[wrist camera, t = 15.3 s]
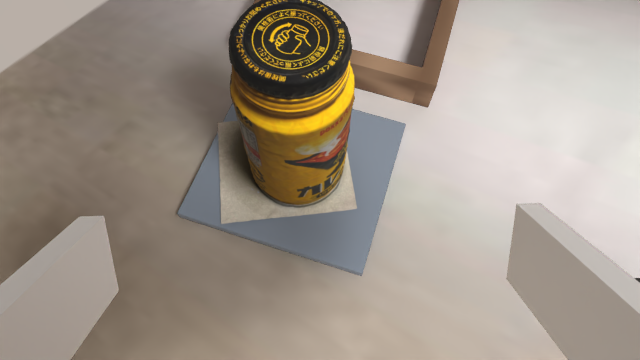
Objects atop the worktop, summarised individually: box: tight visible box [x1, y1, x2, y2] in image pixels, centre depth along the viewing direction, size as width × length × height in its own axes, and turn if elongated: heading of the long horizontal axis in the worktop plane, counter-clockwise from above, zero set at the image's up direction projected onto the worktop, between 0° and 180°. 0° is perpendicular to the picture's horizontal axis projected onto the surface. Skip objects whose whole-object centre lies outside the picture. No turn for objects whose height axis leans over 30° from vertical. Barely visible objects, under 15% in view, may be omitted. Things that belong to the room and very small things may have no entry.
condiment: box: [218, 0, 357, 224], centre depth 24 cm, size 7×8×12 cm
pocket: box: [253, 0, 459, 107], centre depth 35 cm, size 14×13×2 cm
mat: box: [177, 103, 406, 276], centre depth 30 cm, size 12×11×1 cm
